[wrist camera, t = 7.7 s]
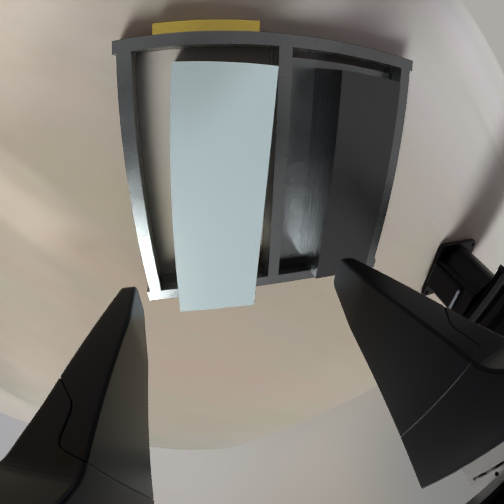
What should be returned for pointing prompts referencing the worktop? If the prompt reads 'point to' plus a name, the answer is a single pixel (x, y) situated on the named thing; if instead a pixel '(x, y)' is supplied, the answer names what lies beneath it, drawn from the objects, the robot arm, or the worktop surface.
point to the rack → (292, 147)
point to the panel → (219, 177)
